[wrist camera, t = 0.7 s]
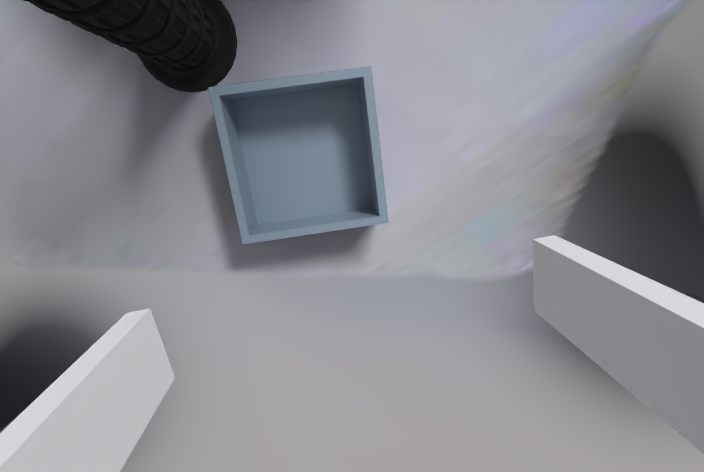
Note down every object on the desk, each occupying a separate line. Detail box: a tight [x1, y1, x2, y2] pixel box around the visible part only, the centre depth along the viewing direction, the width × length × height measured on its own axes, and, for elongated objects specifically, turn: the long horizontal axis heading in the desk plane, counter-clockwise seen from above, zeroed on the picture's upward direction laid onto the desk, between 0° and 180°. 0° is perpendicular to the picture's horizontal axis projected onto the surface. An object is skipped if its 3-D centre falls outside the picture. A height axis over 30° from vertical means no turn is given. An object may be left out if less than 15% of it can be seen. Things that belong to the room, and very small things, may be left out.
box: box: [208, 66, 388, 244], centre depth 38 cm, size 15×15×6 cm
